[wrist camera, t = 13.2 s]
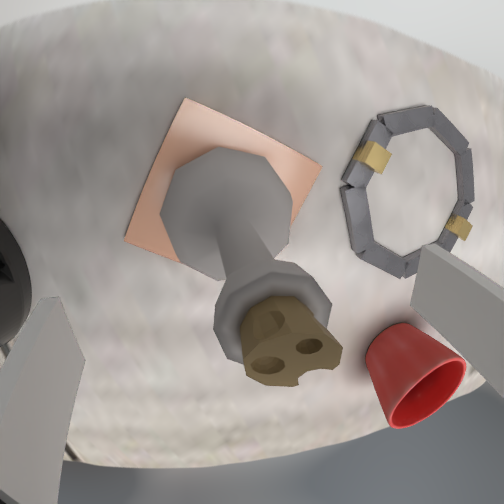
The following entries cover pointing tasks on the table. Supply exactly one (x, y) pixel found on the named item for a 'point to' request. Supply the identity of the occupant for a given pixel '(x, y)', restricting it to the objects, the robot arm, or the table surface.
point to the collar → (375, 160)
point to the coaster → (195, 145)
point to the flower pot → (412, 374)
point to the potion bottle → (250, 265)
